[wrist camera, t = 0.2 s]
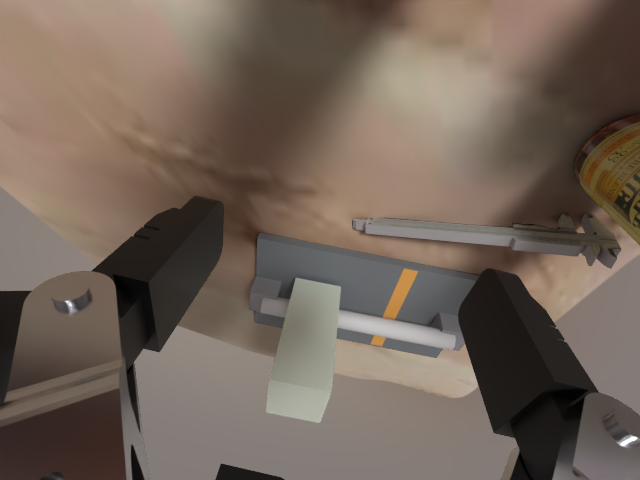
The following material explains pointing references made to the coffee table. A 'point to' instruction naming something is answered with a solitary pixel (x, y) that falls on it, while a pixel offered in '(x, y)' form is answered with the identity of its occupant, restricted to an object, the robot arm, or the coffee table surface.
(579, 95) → the coffee table surface
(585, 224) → the caliper
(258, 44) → the coffee table surface
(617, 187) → the sauce bottle
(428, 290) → the pipe rig
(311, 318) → the sage green block
